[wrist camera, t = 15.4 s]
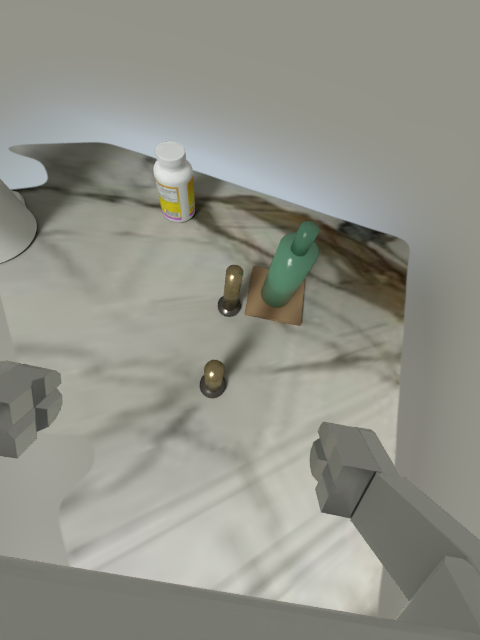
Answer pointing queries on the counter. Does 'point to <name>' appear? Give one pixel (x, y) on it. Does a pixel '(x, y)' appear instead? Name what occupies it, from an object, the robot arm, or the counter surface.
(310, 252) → the bottle
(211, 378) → the post
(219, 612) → the robot arm
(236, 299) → the post
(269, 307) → the plate
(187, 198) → the supplement bottle
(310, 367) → the counter surface
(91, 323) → the counter surface
